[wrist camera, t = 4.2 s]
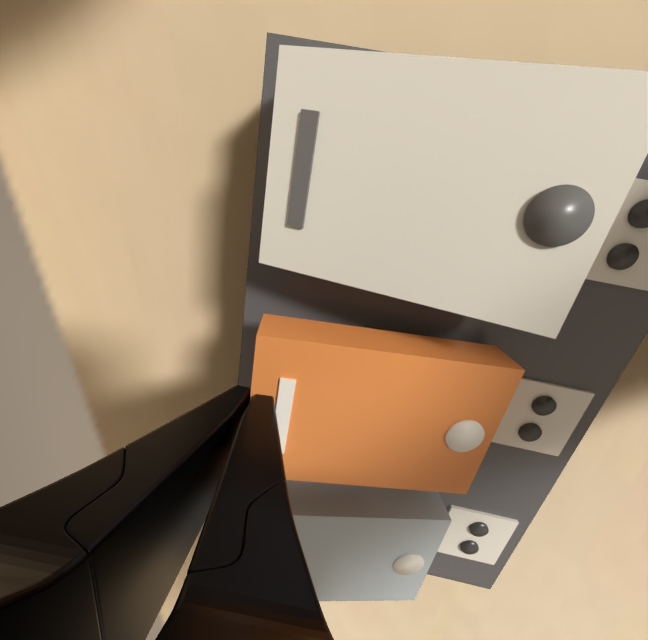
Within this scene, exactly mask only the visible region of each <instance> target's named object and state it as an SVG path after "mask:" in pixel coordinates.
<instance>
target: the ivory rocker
mask: <svg viewBox="0 0 648 640" xmlns="http://www.w3.org/2000/svg"><path fill="white" fill-rule="evenodd" d="M647 154H648V71H641V70H627V69H613V68H599V67H585V66H571V65H557V64H543V63H529V62H515V61H501V60H487V59H473V58H459V57H445V56H431V55H417V54H403V53H389V52H375V51H361V50H347V49H333V48H319V47H305V46H291V45H279V55H278V66H277V76H276V86H275V97H274V107H273V118H272V128H271V139H270V149H269V160H268V170H267V181H266V191H265V201H264V212H263V222H262V233H261V243H260V254H259V263H262V264H266V265H270V266H274V267H278V268H282V269H286V270H290V271H293V272H297V273H301V274H305V275H309V276H313V277H317V278H321V279H325V280H328V281H332V282H336V283H340V284H344V285H348V286H352V287H356V288H359V289H363V290H367V291H371V292H375V293H379V294H383V295H387V296H391V297H394V298H398V299H402V300H406V301H410V302H414V303H418V304H422V305H425V306H429V307H433V308H437V309H441V310H445V311H449V312H453V313H457V314H460V315H464V316H468V317H472V318H476V319H480V320H484V321H488V322H491V323H495V324H499V325H503V326H507V327H511V328H515V329H519V330H523V331H526V332H530V333H534V334H538V335H542V336H546V337H550V338H554V339H556V337H557V335H558V333H559V331H560V329H561V327H562V325H563V323H564V321H565V319H566V317H567V315H568V313H569V311H570V309H571V307H572V305H573V303H574V301H575V299H576V297H577V295H578V293H579V291H580V289H581V287H582V285H583V283H584V281H585V279H586V277H587V275H588V273H589V271H590V269H591V267H592V265H593V263H594V261H595V259H596V257H597V255H598V253H599V251H600V249H601V247H602V245H603V242H604V240H605V238H606V236H607V234H608V232H609V230H610V228H611V226H612V224H613V222H614V220H615V218H616V216H617V214H618V212H619V210H620V208H621V206H622V204H623V202H624V200H625V198H626V196H627V194H628V192H629V190H630V188H631V186H632V184H633V182H634V180H635V178H636V176H637V174H638V172H639V170H640V168H641V166H642V164H643V162H644V160H645V158H646V156H647Z"/></svg>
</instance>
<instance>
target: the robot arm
mask: <svg viewBox="0 0 648 640" xmlns="http://www.w3.org/2000/svg"><path fill="white" fill-rule="evenodd" d="M250 394H251V388H250V387H245V386H240V385H237V386H235V387H233V388H231V389H229V390H227V391H225V392H224V393H222V394H220V395H218V396H216V397H214V398H213V399H211V400H209V401H207V402H205V403H203V404H202V405H200V406H198V407H196V408H194V409H192V410H191V411H189V412H187V413H185V414H183V415H181V416H180V417H178V418H176V419H174V420H172V421H170V422H169V423H167V424H165V425H163V426H161V427H159V428H158V429H156V430H154V431H152V432H150V433H148V434H147V435H145V436H143V437H141V438H139V439H137V440H136V441H134V442H132V443H130V444H128V445H127V446H126V447H125V448H121V449H119V450H117V451H115V452H113V453H112V454H110V455H108V456H106V457H104V458H102V459H100V460H98V461H97V462H95V463H93V464H91V465H89V466H87V467H85V468H83V469H81V470H79V471H77V472H75V473H73V474H71V475H69V476H67V477H64V478H63V479H60V480H58V481H56V482H54V483H52V484H50V485H48V486H46V487H43V488H41V489H39V490H37V491H35V492H33V493H30V494H28V495H26V496H24V497H22V498H20V499H17V500H15V501H13V502H11V503H9V504H6V505H4V506H2V507H0V640H145V639H146V637H147V635H148V633H149V631H150V629H151V627H152V625H153V623H154V621H155V619H156V617H157V615H158V613H159V611H160V609H161V607H162V605H163V603H164V601H165V599H166V597H167V595H168V593H169V591H170V589H171V587H172V585H173V583H174V581H175V579H176V577H177V575H178V573H179V571H180V569H181V567H182V565H183V563H184V561H185V559H186V557H187V555H188V553H189V551H190V549H191V547H192V545H193V543H194V541H195V539H196V537H197V535H198V533H199V531H200V529H201V527H202V525H203V523H204V521H205V523H204V526H203V529H202V532H201V534H200V537H199V540H198V543H197V546H196V549H195V552H194V555H193V557H192V560H191V563H190V566H189V569H188V572H187V576H186V578H185V581H184V583H183V586H182V589H181V591H180V594H179V596H178V599H177V601H176V604H175V606H174V608H173V610H172V612H171V614H170V616H169V618H168V619H167V621H166V623H165V624H164V626H163V628H162V630H161V631H160V633H159V634H158V637H157V638H156V639H155V640H334V639H333V637H332V635H331V633H330V630H329V628H328V626H327V623H326V621H325V618H324V615H323V613H322V610H321V607H320V604H319V601H318V598H317V594H316V591H315V588H314V585H313V582H312V578H311V575H310V572H309V569H308V566H307V562H306V559H305V556H304V553H303V550H302V546H301V543H300V540H299V537H298V533H297V529H296V526H295V522H294V518H293V514H292V509H291V504H290V499H289V493H288V487H287V482H286V475H285V469H284V462H283V456H282V449H281V443H280V436H279V430H278V423H277V417H276V410H275V404H274V398H273V396H268V395H261V394H255V395H254V397H253V399H252V400H251V402H250ZM205 519H206V520H205Z"/></svg>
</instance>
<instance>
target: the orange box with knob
mask: <svg viewBox="0 0 648 640" xmlns="http://www.w3.org/2000/svg"><path fill="white" fill-rule="evenodd" d="M524 372H525V370H524V369H523V368H522V367H521V366H520V365H518V364H517V363H516V362H515V361H514V360H512V359H511V358H510V357H509V356H508V355H506V354H505V353H504V352H503V351H502V350H500V349H499V348H498V347H497V346H495V345H487V344H480V343H473V342H466V341H459V340H451V339H444V338H437V337H430V336H423V335H415V334H408V333H401V332H394V331H386V330H379V329H372V328H365V327H358V326H350V325H343V324H336V323H329V322H322V321H314V320H307V319H300V318H293V317H286V316H278V315H271V314H263V317H262V320H261V323H260V326H259V329H258V332H257V335H256V345H255V354H254V364H253V374H252V384H251V394H250V402H251V400H252V399H253V397H254V395H255V394H261V395H268V396H273V398H274V404H275V410H276V417H277V423H278V430H279V436H280V443H281V449H282V456H283V462H284V469H285V475H286V480H293V481H306V482H318V483H331V484H343V485H356V486H368V487H381V488H393V489H406V490H418V491H431V492H443V493H456V494H467V492H468V490H469V488H470V485H471V483H472V481H473V479H474V477H475V475H476V473H477V471H478V469H479V466H480V464H481V462H482V460H483V458H484V456H485V454H486V452H487V450H488V448H489V445H490V443H491V441H492V439H493V437H494V435H495V433H496V431H497V429H498V427H499V424H500V422H501V420H502V418H503V416H504V414H505V412H506V410H507V408H508V406H509V403H510V401H511V399H512V397H513V395H514V393H515V391H516V389H517V387H518V384H519V382H520V380H521V378H522V376H523V374H524Z"/></svg>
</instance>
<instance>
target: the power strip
mask: <svg viewBox="0 0 648 640" xmlns="http://www.w3.org/2000/svg"><path fill="white" fill-rule="evenodd" d="M279 45H291V46H305V47H319V48H333V49H347V50H361V51H375V52H382V51H376V50H370V49H364V48H358V47H352V46H346V45H340V44H334V43H328V42H322V41H316V40H310V39H303V38H297V37H291V36H285V35H279V34H273V33H267V41H266V53H265V66H264V78H263V90H262V102H261V114H260V126H259V138H258V150H257V162H256V174H255V186H254V198H253V210H252V222H251V234H250V246H249V258H248V270H247V282H246V294H245V306H244V318H243V330H242V342H241V355H240V367H239V379H238V385H240V386H245V387H250V388H251V384H252V374H253V364H254V354H255V345H256V335H257V332H258V329H259V326H260V323H261V320H262V317H263V314H271V315H278V316H286V317H293V318H300V319H307V320H314V321H322V322H329V323H336V324H343V325H350V326H358V327H365V328H372V329H379V330H386V331H394V332H401V333H408V334H415V335H423V336H430V337H437V338H444V339H451V340H459V341H466V342H473V343H480V344H487V345H495V346H497V347H498V348H499V349H500V350H502V351H503V352H504V353H505V354H506V355H508V356H509V357H510V358H511V359H512V360H514V361H515V362H516V363H517V364H518V365H520V366H521V367H522V368H523V369H524V370H525V372H524V374H523V376H522V378H521V380H520V382H519V384H518V387H517V389H516V391H515V393H514V395H513V397H512V399H511V401H510V403H509V406H508V408H507V410H506V412H505V414H504V416H503V418H502V420H501V422H500V424H499V427H498V429H497V431H496V433H495V435H494V437H493V439H492V441H491V443H490V445H489V448H488V450H487V452H486V454H485V456H484V458H483V460H482V462H481V464H480V466H479V469H478V471H477V473H476V475H475V477H474V479H473V481H472V483H471V485H470V488H469V490H468V492H467V494H456V493H443V492H439V494H440V497H441V499H442V501H443V503H444V505H445V507H446V509H447V511H448V513H449V516H450V518H451V520H452V521H451V523H450V525H449V527H448V530H447V532H446V534H445V536H444V538H443V540H442V542H441V544H440V547H439V549H438V551H437V553H436V555H435V557H434V559H433V561H432V563H431V566H430V568H429V570H428V572H427V574H429V575H433V576H438V577H442V578H446V579H450V580H454V581H458V582H463V583H467V584H471V585H475V586H479V587H483V588H488V589H491V587H492V585H493V584H494V582H495V580H496V579H497V577H498V575H499V574H500V572H501V571H502V569H503V567H504V566H505V564H506V562H507V561H508V559H509V557H510V556H511V554H512V553H513V551H514V549H515V548H516V546H517V544H518V543H519V541H520V539H521V538H522V536H523V535H524V533H525V531H526V530H527V528H528V526H529V525H530V523H531V521H532V520H533V518H534V517H535V515H536V513H537V512H538V510H539V508H540V507H541V505H542V503H543V502H544V500H545V498H546V497H547V495H548V494H549V492H550V490H551V489H552V487H553V485H554V484H555V482H556V480H557V479H558V477H559V476H560V474H561V472H562V471H563V469H564V467H565V466H566V464H567V462H568V461H569V459H570V458H571V456H572V454H573V453H574V451H575V449H576V448H577V446H578V444H579V443H580V441H581V440H582V438H583V436H584V435H585V433H586V431H587V430H588V428H589V426H590V425H591V423H592V422H593V420H594V418H595V417H596V415H597V413H598V412H599V410H600V408H601V407H602V405H603V404H604V402H605V400H606V399H607V397H608V395H609V394H610V392H611V390H612V389H613V387H614V386H615V384H616V382H617V381H618V379H619V377H620V376H621V374H622V372H623V371H624V369H625V368H626V366H627V364H628V363H629V361H630V359H631V358H632V356H633V354H634V353H635V351H636V350H637V348H638V346H639V345H640V343H641V341H642V340H643V338H644V336H645V335H646V333H647V332H648V154H647V156H646V158H645V160H644V162H643V164H642V166H641V168H640V170H639V172H638V174H637V176H636V178H635V180H634V182H633V184H632V186H631V188H630V190H629V192H628V194H627V196H626V198H625V200H624V202H623V204H622V206H621V208H620V210H619V212H618V214H617V216H616V218H615V220H614V222H613V224H612V226H611V228H610V230H609V232H608V234H607V236H606V238H605V240H604V242H603V245H602V247H601V249H600V251H599V253H598V255H597V257H596V259H595V261H594V263H593V265H592V267H591V269H590V271H589V273H588V275H587V277H586V279H585V281H584V283H583V285H582V287H581V289H580V291H579V293H578V295H577V297H576V299H575V301H574V303H573V305H572V307H571V309H570V311H569V313H568V315H567V317H566V319H565V321H564V323H563V325H562V327H561V329H560V331H559V333H558V335H557V337H556V339H554V338H550V337H546V336H542V335H538V334H534V333H530V332H526V331H523V330H519V329H515V328H511V327H507V326H503V325H499V324H495V323H491V322H488V321H484V320H480V319H476V318H472V317H468V316H464V315H460V314H457V313H453V312H449V311H445V310H441V309H437V308H433V307H429V306H425V305H422V304H418V303H414V302H410V301H406V300H402V299H398V298H394V297H391V296H387V295H383V294H379V293H375V292H371V291H367V290H363V289H359V288H356V287H352V286H348V285H344V284H340V283H336V282H332V281H328V280H325V279H321V278H317V277H313V276H309V275H305V274H301V273H297V272H293V271H290V270H286V269H282V268H278V267H274V266H270V265H266V264H262V263H259V254H260V243H261V233H262V222H263V212H264V201H265V191H266V181H267V170H268V160H269V149H270V139H271V128H272V118H273V107H274V97H275V86H276V76H277V66H278V55H279Z"/></svg>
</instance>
